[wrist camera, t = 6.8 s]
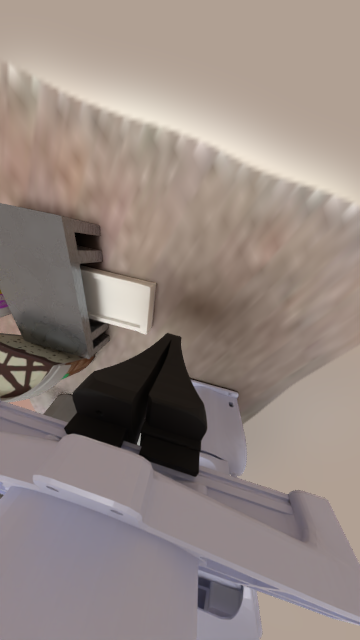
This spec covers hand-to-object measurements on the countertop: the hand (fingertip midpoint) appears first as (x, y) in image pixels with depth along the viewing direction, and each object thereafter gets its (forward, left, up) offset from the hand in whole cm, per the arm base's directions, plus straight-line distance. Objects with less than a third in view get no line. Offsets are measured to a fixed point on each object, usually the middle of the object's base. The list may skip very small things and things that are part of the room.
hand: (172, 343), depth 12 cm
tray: (+10, 0, -6) cm, 12 cm away
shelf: (+16, 0, -6) cm, 17 cm away
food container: (+19, +14, -5) cm, 24 cm away
